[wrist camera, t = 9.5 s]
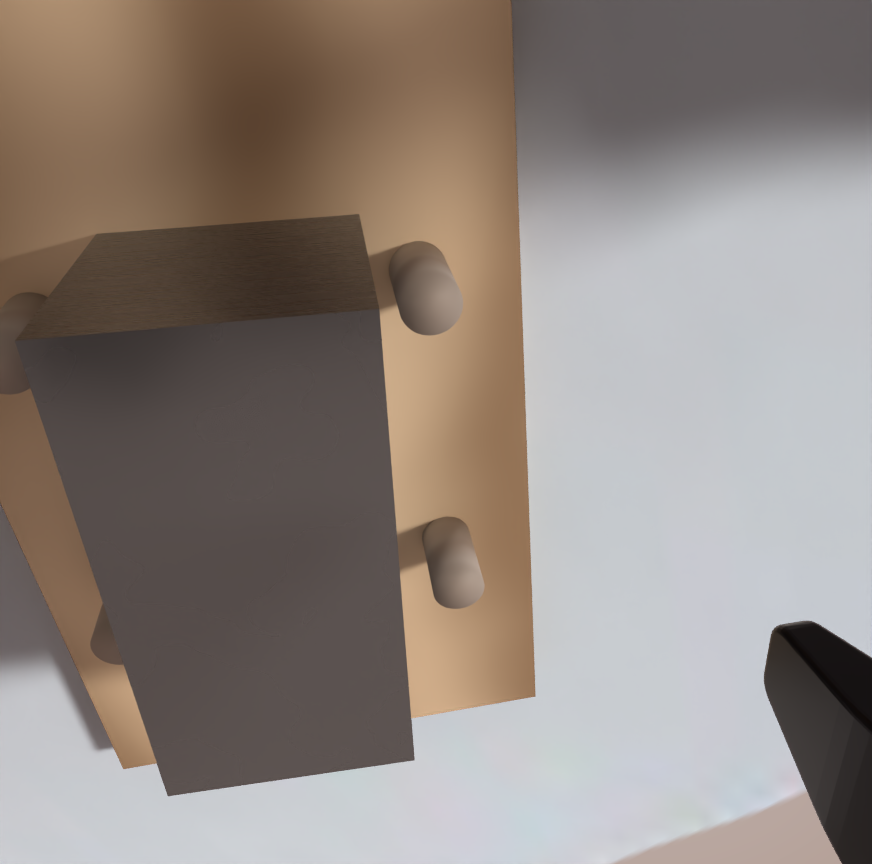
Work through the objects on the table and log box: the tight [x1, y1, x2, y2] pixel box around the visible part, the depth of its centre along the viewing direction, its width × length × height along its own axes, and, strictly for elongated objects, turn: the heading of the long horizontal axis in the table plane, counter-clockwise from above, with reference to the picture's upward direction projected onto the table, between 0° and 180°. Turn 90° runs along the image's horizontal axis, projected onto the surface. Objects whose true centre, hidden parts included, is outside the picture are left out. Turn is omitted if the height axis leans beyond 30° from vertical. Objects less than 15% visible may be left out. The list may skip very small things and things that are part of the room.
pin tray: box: [0, 0, 535, 769], centre depth 17 cm, size 12×20×3 cm, turn 5°
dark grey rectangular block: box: [15, 214, 414, 796], centre depth 16 cm, size 5×10×5 cm, turn 2°
